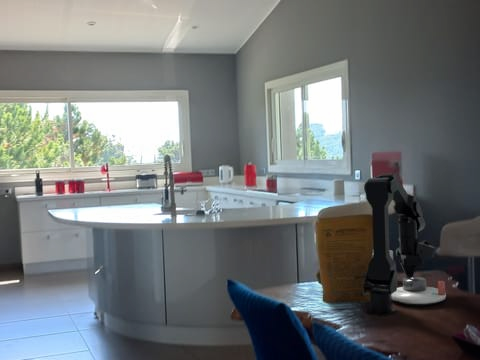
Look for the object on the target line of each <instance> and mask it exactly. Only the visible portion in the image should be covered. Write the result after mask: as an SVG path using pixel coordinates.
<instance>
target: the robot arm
mask: <svg viewBox="0 0 480 360" xmlns="http://www.w3.org/2000/svg"><path fill="white" fill-rule="evenodd" d="M399 178H400V177H399V175H398V173H395V172H391V173H390V172H389V173H382V174H380V175H378V176H375V177H369V178H368V179H367V181H365V182H364V185H363V188H364V193H365V200H366V201H367V202H368V204H369V205H370V207H371V213H372V214H371V215H372V223H373V258H372V259H371V261H370V263H369V264H368V271H367V274H366V278H365V281H364V285H363V288H364V292H370V301H369V302H370V308H369V309H366V313H369V314H373V315H379V316H388V315H390V314H393V313H394V312H397V308H393V299H392V296H391V294H393V293H394V292H396V291H397V288H398V278H399V277H398V271H397V262H396V260H395V259H394V258H393V259H392V258H391V256H390V251H391V250H390V225H389V223H390V222H389V219H390V217H389V206H390V205H391V203H392V202H393V203H394V204H393V211H394V212H395V214H396V216H397V217H399V218H398V221H397V224H398V236H399V237H398V242H399V247H398V248H396V249H395V257H396V258H397V257H398V258H399V257H401V258H400V259H398V262H399V263H400V265H401V268H402V270H403V272H404V274H405V276H406V277H414V274H415V269H416V268H417V266H423V265H425V264H424V258H423V257H422V256H421V254H423V255H426V256H428V257H430V258H434V257H435V256H434V255H435V252H436V249H437V248H436V247H435V246H434V245H431V244H430V241H428V240H422V242H421V241H420V239H419V238H418V232H421V231H422V230H424V228H425V227H426V221H425V219H424V217H423V216H424V215H423V211H422V208H421V205H420V202H419V201H418V199H417V198H416V197H415V196H414V195H411V194H410V193H407V191H406V189H405V188H404V186H403V184H402V183H401V181H400V179H399ZM406 277H405V278H406ZM381 285H385V286H381Z"/></svg>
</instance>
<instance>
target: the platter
mask: <svg viewBox="0 0 480 360" xmlns="http://www.w3.org/2000/svg"><path fill="white" fill-rule="evenodd" d="M391 296H392V301H396V302H398V301H399V303H400V302H404V303H413V304H426V303H435V302H437V303H440V302H442V301H444V300H445V299H446V298H447V292H446V283H445V281H443V280H438V281H437V288H436V287H432V286H426V290H425V291H422V292H409V291H405V290H403V286H401V287H397V291H396V292H394V293H393V294H391ZM435 304H436V303H435Z"/></svg>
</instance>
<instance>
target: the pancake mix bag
mask: <svg viewBox="0 0 480 360" xmlns="http://www.w3.org/2000/svg"><path fill="white" fill-rule="evenodd" d="M314 234H315V247H316V248H315V249H316V255H317V262H318V268H319V269H318V270H320V276H321V283H322V285H321V287H322V292H323V293H322V294H323V295H322V301H323V302H325V303H330V304H342V303H346V304H348V303H368V302H370V292H364V288H363V285H364V281H365V278H366V274H367V271H368V264H369V263H370V261H371V259H372V255H373V223H372V214H369V213H368V214H365V213H364V214H352V215H343V216H336V217H335V216H332V217H320V218H318V221H315V222H314Z"/></svg>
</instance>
